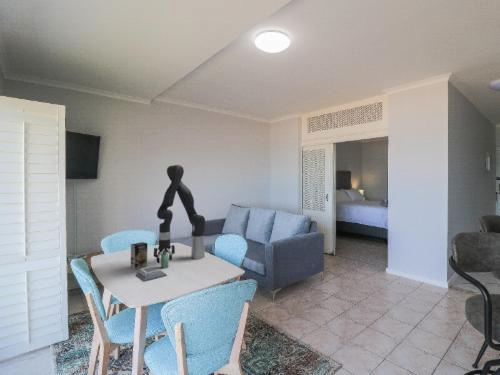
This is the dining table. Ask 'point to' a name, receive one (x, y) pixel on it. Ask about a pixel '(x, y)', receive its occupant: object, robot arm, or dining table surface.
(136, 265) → the coffee box
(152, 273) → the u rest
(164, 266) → the green bottle
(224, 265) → the dining table surface
